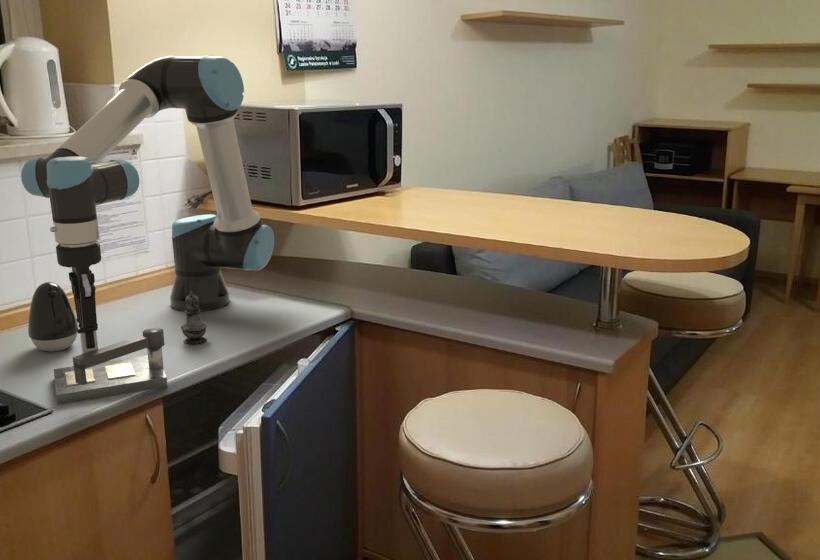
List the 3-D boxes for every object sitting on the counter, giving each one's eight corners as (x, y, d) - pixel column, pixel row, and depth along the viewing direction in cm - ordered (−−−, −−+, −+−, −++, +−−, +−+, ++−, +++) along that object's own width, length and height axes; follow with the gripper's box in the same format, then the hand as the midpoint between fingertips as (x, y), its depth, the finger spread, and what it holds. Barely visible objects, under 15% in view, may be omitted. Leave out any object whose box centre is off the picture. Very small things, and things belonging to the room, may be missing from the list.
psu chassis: (158, 362, 168) (156, 335, 167) (169, 386, 156) (167, 356, 155) (54, 378, 160) (50, 349, 158) (57, 404, 148) (53, 374, 146)
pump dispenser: (36, 359, 170) (27, 292, 166) (26, 345, 178) (17, 281, 174) (85, 349, 176) (78, 284, 172) (73, 336, 184) (66, 273, 180)
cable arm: (157, 351, 163) (155, 326, 162) (169, 355, 161) (167, 330, 160) (73, 381, 148) (69, 353, 147) (85, 386, 146) (82, 358, 145)
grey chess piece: (182, 346, 178) (177, 295, 174) (181, 338, 183) (177, 288, 180) (208, 344, 179) (205, 293, 176) (207, 335, 185) (204, 286, 181)
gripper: (50, 237, 148) (65, 354, 155) (60, 252, 138) (75, 377, 144) (93, 233, 152) (105, 347, 159) (105, 247, 141) (118, 369, 148)
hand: (91, 361), depth 151 cm, fingers closed
